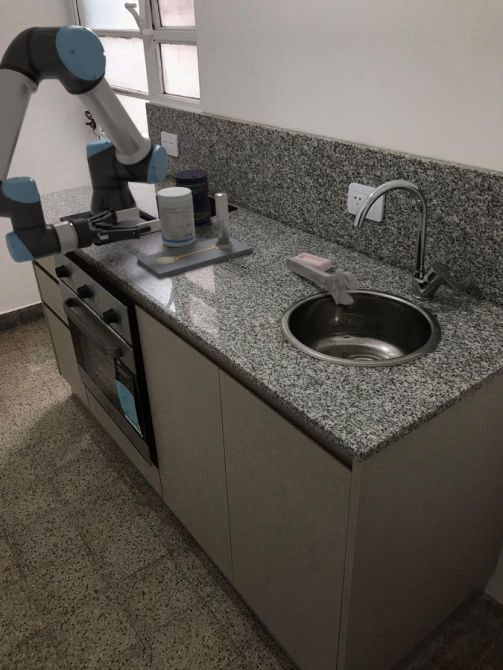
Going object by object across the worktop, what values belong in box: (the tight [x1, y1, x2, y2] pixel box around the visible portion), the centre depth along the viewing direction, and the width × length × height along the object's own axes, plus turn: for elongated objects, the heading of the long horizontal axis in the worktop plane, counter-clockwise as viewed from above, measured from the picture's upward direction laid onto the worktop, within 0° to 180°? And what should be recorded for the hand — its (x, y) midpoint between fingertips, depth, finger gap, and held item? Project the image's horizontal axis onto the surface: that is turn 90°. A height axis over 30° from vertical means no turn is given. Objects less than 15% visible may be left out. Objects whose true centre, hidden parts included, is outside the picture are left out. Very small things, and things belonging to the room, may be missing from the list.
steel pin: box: [214, 192, 232, 248], centre depth 149 cm, size 5×5×14 cm
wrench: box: [285, 256, 359, 306], centre depth 128 cm, size 8×2×30 cm
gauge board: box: [136, 235, 253, 279], centre depth 148 cm, size 13×28×1 cm, turn 125°
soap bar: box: [293, 252, 333, 272], centre depth 141 cm, size 5×9×2 cm, turn 48°
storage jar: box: [174, 169, 212, 228], centre depth 170 cm, size 10×10×15 cm
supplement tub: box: [156, 186, 196, 248], centre depth 155 cm, size 10×10×15 cm
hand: (149, 218), depth 150 cm, fingers open, 13 cm apart
